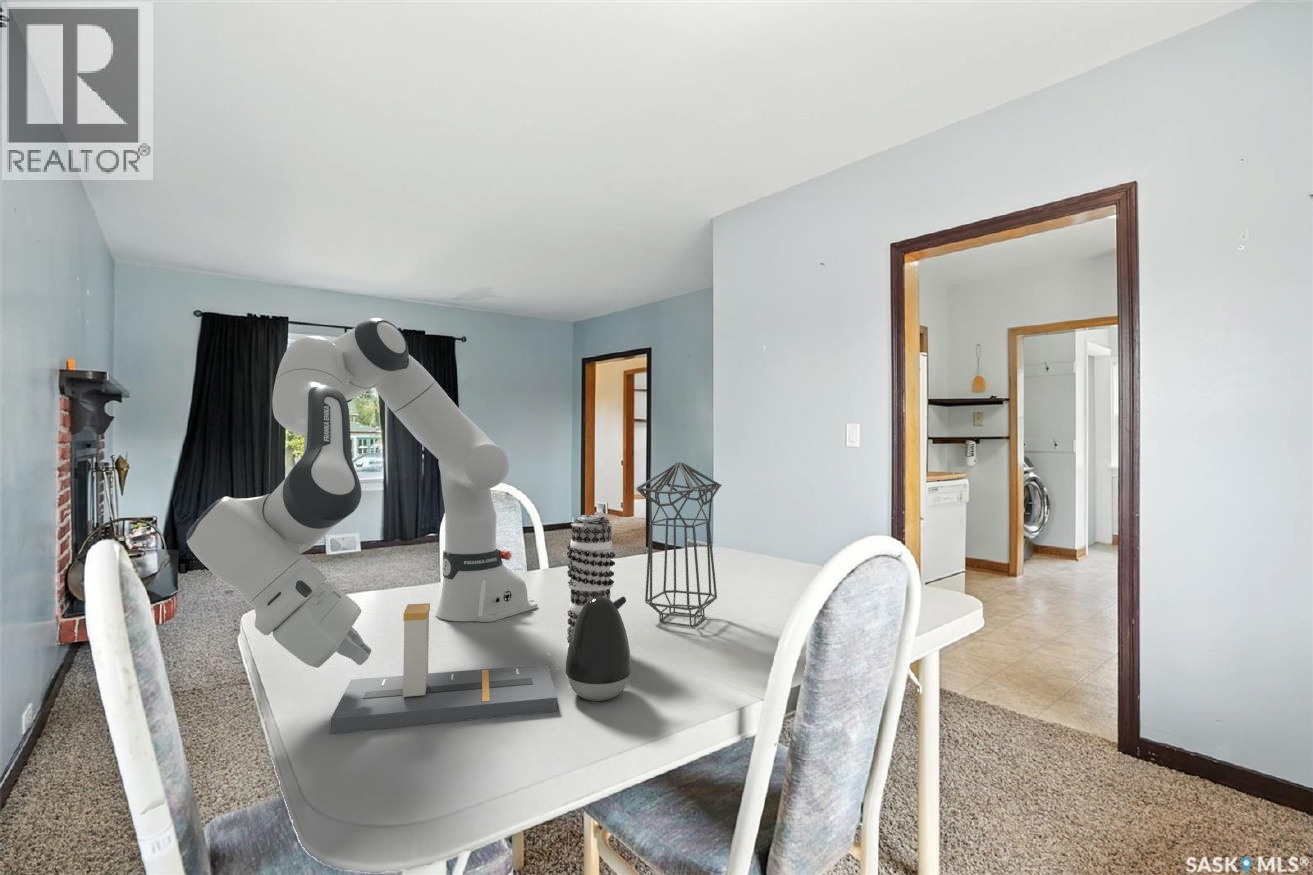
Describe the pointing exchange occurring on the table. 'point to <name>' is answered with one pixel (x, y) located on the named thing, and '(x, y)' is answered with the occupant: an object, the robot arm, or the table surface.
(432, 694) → the console board
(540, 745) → the table surface
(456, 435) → the robot arm
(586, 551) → the decorative candle
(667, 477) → the geometric lantern
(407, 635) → the fader tab
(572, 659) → the pump dispenser
